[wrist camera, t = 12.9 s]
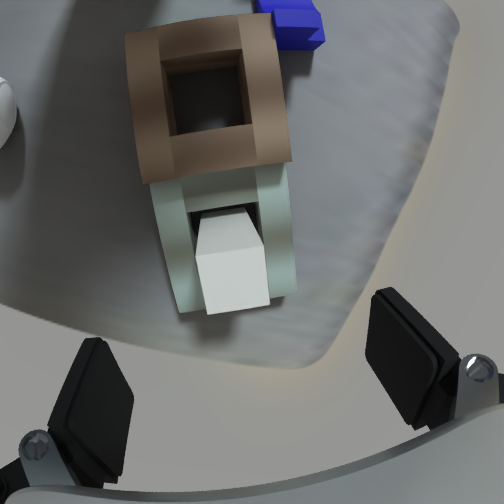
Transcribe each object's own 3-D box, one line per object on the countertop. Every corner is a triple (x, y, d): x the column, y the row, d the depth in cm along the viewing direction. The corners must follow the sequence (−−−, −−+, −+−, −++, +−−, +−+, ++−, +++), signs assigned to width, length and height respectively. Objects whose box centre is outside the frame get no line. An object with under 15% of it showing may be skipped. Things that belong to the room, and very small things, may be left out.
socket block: (140, 53, 19) (124, 34, 15) (259, 35, 20) (270, 13, 15) (182, 296, 27) (177, 326, 23) (288, 278, 28) (303, 305, 23)
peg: (201, 213, 25) (195, 256, 16) (244, 207, 25) (263, 245, 16) (208, 253, 26) (207, 314, 17) (249, 247, 26) (270, 304, 17)
